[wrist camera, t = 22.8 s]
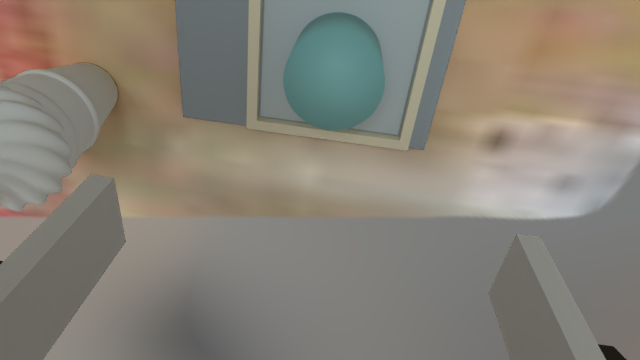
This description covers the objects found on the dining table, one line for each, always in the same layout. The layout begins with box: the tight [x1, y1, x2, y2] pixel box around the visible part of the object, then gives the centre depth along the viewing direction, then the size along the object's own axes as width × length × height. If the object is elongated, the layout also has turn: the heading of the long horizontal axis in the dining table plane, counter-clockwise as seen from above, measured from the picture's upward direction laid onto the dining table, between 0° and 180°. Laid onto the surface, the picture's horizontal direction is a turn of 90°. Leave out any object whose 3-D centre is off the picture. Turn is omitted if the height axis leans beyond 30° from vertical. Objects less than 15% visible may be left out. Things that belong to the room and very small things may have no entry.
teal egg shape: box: [283, 12, 385, 130], centre depth 29 cm, size 6×6×6 cm
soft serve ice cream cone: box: [0, 63, 118, 212], centre depth 29 cm, size 8×8×16 cm
